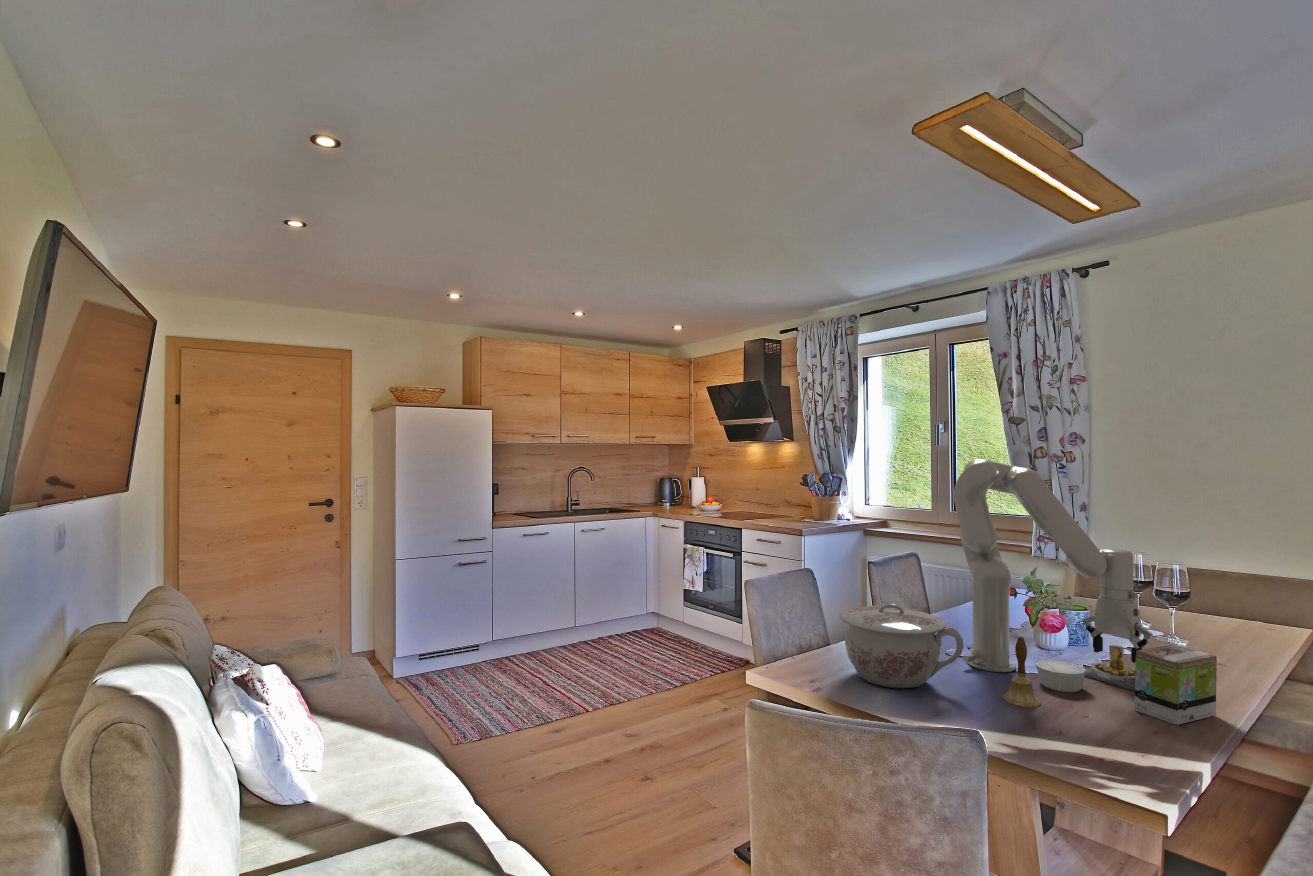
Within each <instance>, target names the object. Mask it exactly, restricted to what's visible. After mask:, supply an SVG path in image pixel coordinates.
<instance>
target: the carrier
mask: <svg viewBox="0 0 1313 876" xmlns="http://www.w3.org/2000/svg"><path fill="white" fill-rule="evenodd" d="M1101 663H1103V664H1109V663H1110V662H1102V661H1101V662H1093V663H1090V667H1089V668H1087V669H1085V671H1086V675H1085V676H1084V677H1086V676H1087V677H1086V678H1090V679H1093V680H1097V681H1100V682H1103V683H1106V684H1110V685H1113V686H1116V687H1119V688H1122V689H1125V690H1129V691H1132V692H1135V676H1120V675H1114V674H1109V673H1106V672H1103V671H1100V670H1099V664H1101ZM1124 666H1128V665H1125V664H1124ZM1128 668H1130V669H1134V670H1135V667H1132V666H1128Z"/></svg>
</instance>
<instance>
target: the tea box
mask: <svg viewBox="0 0 1313 876" xmlns="http://www.w3.org/2000/svg"><path fill="white" fill-rule="evenodd" d="M1134 668H1135V691H1134V701H1133V702H1134V711H1136V712H1139V713H1142V714H1144V715H1147V716H1150V717H1152V718H1155V719H1158V720H1161V721H1164V722H1166V723H1169V724H1171V725H1176V726H1179V725H1182V724H1187V723H1190V722H1194V721H1198V720H1202V719H1208V718H1212V717H1211V716H1213V717H1215V716H1217V715H1216V714H1217V712H1216V711H1217V680H1218V679H1217V677H1218V676H1217V669H1218V659H1217V655H1215V654H1211V653H1208V652H1207V653H1206V652H1203V651H1200V650H1195V649H1191V648H1188V647H1185V646H1181V645H1176V644H1173V643H1172V644H1165V645H1163V646H1162V645H1160V646H1157V647H1150V648H1144V649H1143V648H1142V650H1137V651H1136V663H1135V667H1134Z"/></svg>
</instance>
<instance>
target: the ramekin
mask: <svg viewBox="0 0 1313 876" xmlns="http://www.w3.org/2000/svg"><path fill="white" fill-rule="evenodd" d="M1035 667H1036V670H1037V674H1038V680H1039V682H1040V684H1041V685H1042V686H1043V687H1046V688H1047V689H1049V688H1050V689H1049V690H1054V691H1056V690H1057V691H1056V692H1062V691H1063V693H1077V692H1079V691H1081V690H1082V688H1083V686H1084V681H1085V680H1084V679H1085V677H1086V676H1085V675H1086V671H1085V670H1086V669H1085V668H1084V667H1082V666H1080V665H1078V664H1075V663H1071V662H1067V661H1062V660H1051V659H1048V660H1045V659H1044V660H1040V661H1037V662H1036V663H1035Z"/></svg>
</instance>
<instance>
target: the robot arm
mask: <svg viewBox="0 0 1313 876" xmlns="http://www.w3.org/2000/svg"><path fill="white" fill-rule="evenodd" d="M989 490H992V491H996V492H1001V493H1006V494H1011V495H1014V496H1015V498H1016V500H1017V501H1018V502H1019V503H1020V505H1022V507H1023V509H1024V510H1025V511H1026V512H1027V514H1028V515H1029V517H1030V518H1031V519H1032V521H1034V524H1036V526H1037V527H1038V528H1039V529H1040V530H1041V531H1042V532H1043V533H1044V534H1046V535H1047V536H1048V537H1049V538H1050V539H1051V540H1052V541H1053V542H1054V543H1055V544H1056V545H1057V546H1058V548H1060V550H1061V551H1062V552H1063V554H1064V555H1065V561H1066V564H1067V565H1068V567H1069V568H1071V570H1073V571H1075V572H1077V573H1078V574H1079V575H1081V576H1082V577H1085V578H1087V579H1095V578H1099V591H1100V592H1099V596H1097V599H1096V603H1095V607H1094V608H1095V610H1094V616H1088V617H1087V618H1083V619H1082V621H1083V623H1084V625H1085V629H1086V631H1087V632H1088V633H1089V634H1090V637H1091V638H1092V648H1093V652H1094V653H1100V652H1103V650H1104V638H1103V636H1102V635H1103V634H1104V635H1109V636H1112V637H1116V638H1120V639H1123V640H1124V639H1125V640H1128V641H1129V642H1130V644H1131V645H1132V646H1133V647H1131V649H1130V651H1131V657H1130V658H1131V659H1130V660H1131V662H1132V663H1133V664H1136V651H1137V650H1143V648H1144V647H1145V646H1146V645H1148V644H1149V643H1150V641H1151V640H1152V639H1153V637H1154V634H1153V633H1152V632H1150V630H1147V628H1145V627H1143V626H1142V620H1141V619H1142V618H1141V614H1140V613H1141V612H1140V610H1139V604H1138V602H1137V601H1135V600H1138V599H1139V594H1138V593H1136V592H1135V590H1134V555H1133V553H1132V551H1130V550H1127V549H1123V548H1113V547H1111V548H1100V547H1099V548H1098V547H1097V546H1096V544H1095V543H1094V541H1093V540H1092V539H1091V538H1090V537H1089V535H1087V533H1086V531H1084V529H1082V527H1081V526H1080V525H1079V524H1078V522H1077V521H1076V520H1075V519H1074V518H1073V516H1072V515H1071V514H1070V513H1069V511H1068V510H1067V509H1066V507H1065V506H1064V505H1063V504H1062V502H1061V501H1060V500H1059V499H1058V498H1057V496H1056V495H1055V493H1054V492H1053V491H1052V490H1051V489H1050V487H1049V486H1048V485H1047V484H1046V482H1045V481H1044V480H1043V478H1042V477H1041V476H1040V475H1039V473H1037V472H1036V471H1035V470H1034V469H1032V468H1028V467H1022V466H1016V465H1010V464H1006V463H1000V462H998V461H991V460H988V459H985V458H975V459H974V458H973V459H972V460H970V461H968V462H967V463H966V464H965V466H964V469H963V471H962V472H961V474H960V475H959V477H958V478H957V479H956V483H955V485H954V490H953V500H954V506H955V510H956V514H957V517H958V522H959V524H960V528H959V532H958V533H959V538H960V542H961V545H962V548H963V552H964V556H965V559H966V562H967V565H968V568H969V571H970V574H971V576H972V581H973V582H972V648H971V649H970V653H969V654H965V655H963V656H962V659H963V662H965V663H967V664H968V665H969V666H971V667H974V668H975V669H978V670H982V671H985V672H986V671H987V672H993V673H1009V672H1013V671H1015V670H1017V669H1016V663H1015V662H1014V661H1012V660H1010V594H1011V582H1012V578H1011V572H1010V569H1009V567H1008V565H1007V564H1006V563H1005V562H1004V560H1003V559H1002V556H1001V553H1000V549H999V547H998V543H997V542H998V533H997V530H996V528H995V526H994V523H993V520H992V516H991V513H990V509H989V505H988V503H987V492H988V491H989ZM1093 623H1094V624H1093ZM1093 625H1094V626H1093ZM1142 635H1143V638H1142V639H1140V638H1141V636H1142Z"/></svg>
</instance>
